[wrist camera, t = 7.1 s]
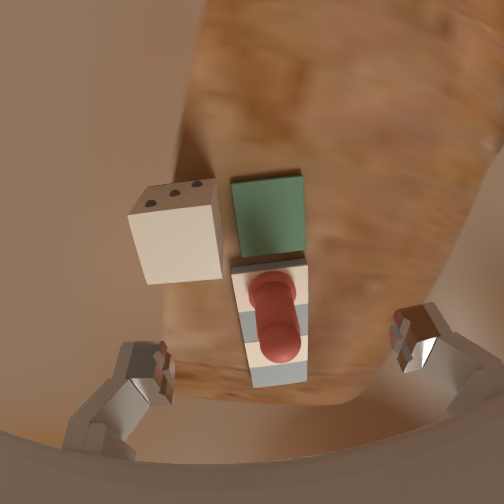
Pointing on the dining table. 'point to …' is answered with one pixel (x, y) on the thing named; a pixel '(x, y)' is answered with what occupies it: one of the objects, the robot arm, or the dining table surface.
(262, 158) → the dining table surface
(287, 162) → the dining table surface
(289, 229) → the mat
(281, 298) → the pawn
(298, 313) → the board
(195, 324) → the dining table surface
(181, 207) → the die
